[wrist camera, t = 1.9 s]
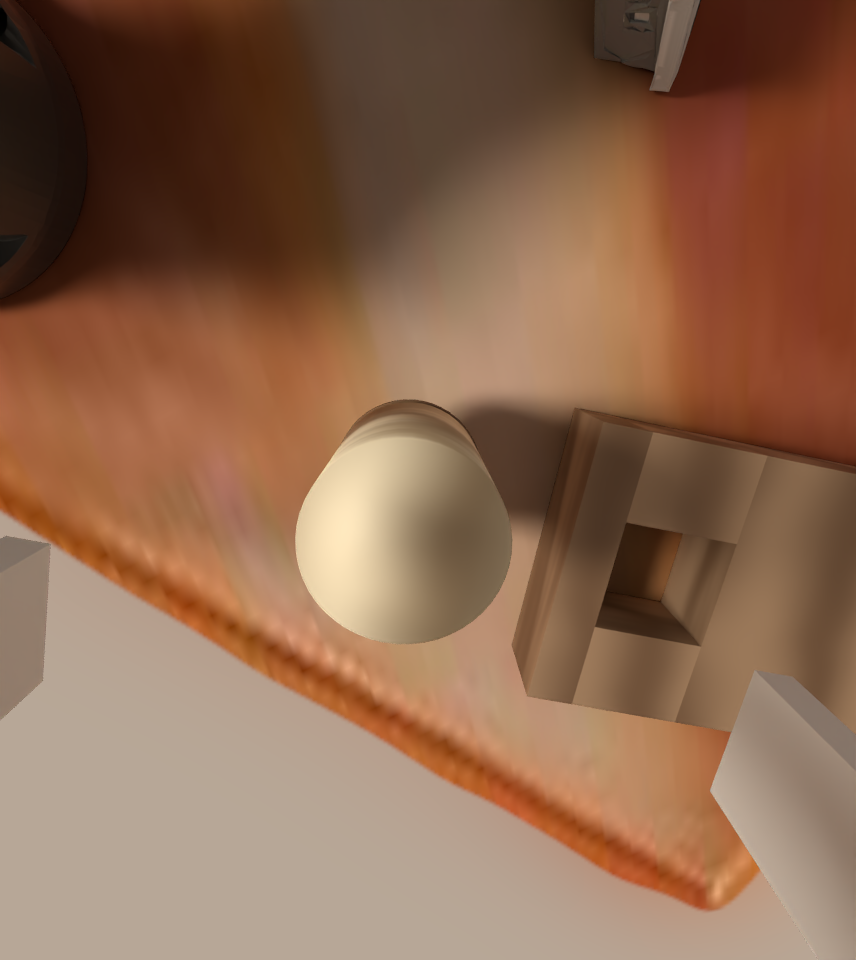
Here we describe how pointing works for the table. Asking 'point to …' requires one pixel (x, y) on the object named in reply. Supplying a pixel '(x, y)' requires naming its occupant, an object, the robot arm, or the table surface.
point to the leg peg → (404, 527)
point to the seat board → (692, 576)
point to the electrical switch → (645, 35)
